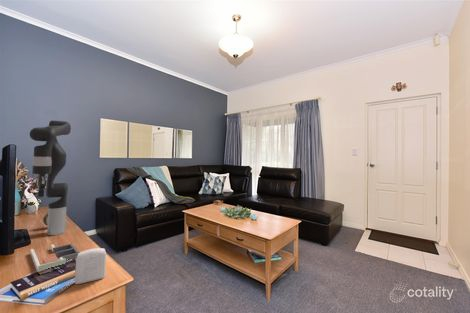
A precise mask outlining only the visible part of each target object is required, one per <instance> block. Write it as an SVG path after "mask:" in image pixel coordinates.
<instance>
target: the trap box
mask: <svg viewBox="0 0 470 313" xmlns="http://www.w3.org/2000/svg"><path fill="white" fill-rule="evenodd" d="M50 250H51V253H53V254H54V253H55V256H56V257H57V258H58V259H59V260H57V261H53V262H49V263H46V264H43V263H42V264H40V261H39V259H38V256H37V254H36V251H35V249H34V248H30V257H31V260H32V262H33V265H34V269H35V271H36V270H37V271H42V270H45V269H48V268H51V267H55V266H58V265H62V264H65V263H67V261H66V260H67V259H73V260H76V258H77V256H78V253H80V252H81V251H79V250H78V248H77V247H75V245H74V244H73V243H69V244H64V245H60V246H55V243H53V244H51V245H50ZM37 271H36V272H37Z"/></svg>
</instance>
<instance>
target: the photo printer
mask: <svg viewBox="0 0 470 313" xmlns="http://www.w3.org/2000/svg"><path fill="white" fill-rule="evenodd" d="M79 252H80V253H78V256H77V258H76V259H75V274H74V284H75V285H80V284H84V283H88V282H93V281H97V280H101V279H105V276H106V264H107V263H106V262H107V260H106V259H107V253H106V248H102V247H100V248H99V247H97V248H90V249H86V250H82V251H79Z"/></svg>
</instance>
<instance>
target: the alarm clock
mask: <svg viewBox="0 0 470 313" xmlns="http://www.w3.org/2000/svg"><path fill="white" fill-rule="evenodd" d="M42 221H43V223H44V225H45V226H46V228H45V230H47V228H48V212H47V213H46V214H45V215H44V216H43V219H42Z"/></svg>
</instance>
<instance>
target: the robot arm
mask: <svg viewBox="0 0 470 313" xmlns="http://www.w3.org/2000/svg"><path fill="white" fill-rule="evenodd" d="M71 127H72V126H71V123H70V122H68V121H63V120H50V121H49V123H48V125H47V126H43V127H34V128H32V129H31V130H30V131H29V137H30V139H31V140H33V141H36V142H45V143H44V144H42V145H36V146H34V147H33V157H32V158H33V159H32V171H31V172H32V174H34V175H37V176H36V177H35V180H36V189H37V197H38V198H43V197H44V196H45V194H46V197H47V198H48V199H49V198H50V199H51V198H59V199H57V200H56V201H55V200H54V201H53V202H50V203H48V208H47V210H48V211H47V213H48V226H47V227H48V228H47V227H46V228H47V229H46V231H47V233H46V235H47V236H57V235H62V234H65V233H66V231H67V230H66V227H67V199H68V191H69V190H68V187H69V186H68V183H66V182H59V183H58V182H57V183H54V181H55V179H56V178H57V175H58V174H60V173H61V171H62V170H63V169H64V167H65V166H66V164H67V152H66V151H65V149H64V148H63V147H62V146H61V144H60V143H59V141H58V139H57V137H60V136H67V135H69V134H71V130H72V128H71ZM46 175H47V176H46Z"/></svg>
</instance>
